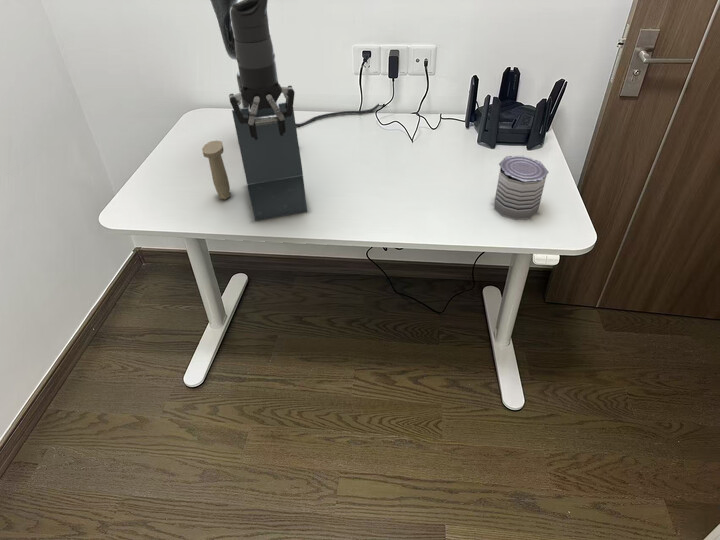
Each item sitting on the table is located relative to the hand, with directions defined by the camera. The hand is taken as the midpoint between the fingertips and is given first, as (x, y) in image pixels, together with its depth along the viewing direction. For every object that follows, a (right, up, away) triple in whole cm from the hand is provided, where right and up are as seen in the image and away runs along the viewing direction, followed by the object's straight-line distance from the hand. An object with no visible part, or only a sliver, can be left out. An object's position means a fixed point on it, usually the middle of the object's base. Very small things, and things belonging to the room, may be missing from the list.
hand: (268, 135), depth 117 cm
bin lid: (-1, 0, +6) cm, 6 cm away
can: (+60, -14, +18) cm, 64 cm away
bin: (-2, -11, +24) cm, 26 cm away
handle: (-16, -10, +26) cm, 32 cm away
